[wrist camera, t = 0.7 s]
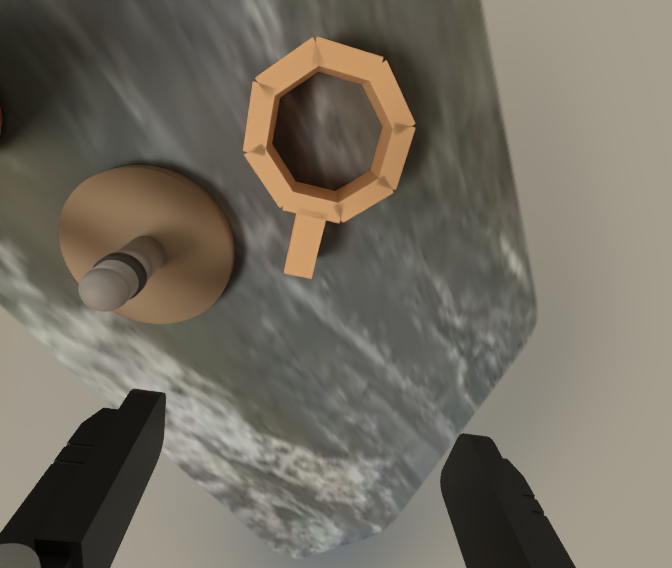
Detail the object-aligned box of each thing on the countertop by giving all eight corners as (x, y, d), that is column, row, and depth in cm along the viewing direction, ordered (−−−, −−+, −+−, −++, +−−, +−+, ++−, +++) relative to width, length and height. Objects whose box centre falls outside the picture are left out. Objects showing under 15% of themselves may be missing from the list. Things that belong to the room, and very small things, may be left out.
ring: (269, 32, 21) (261, 19, 18) (416, 77, 23) (433, 72, 20) (237, 243, 27) (227, 261, 23) (358, 269, 28) (364, 289, 25)
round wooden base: (69, 145, 23) (-46, 162, 16) (245, 187, 25) (217, 221, 18) (74, 298, 28) (-13, 367, 20) (224, 325, 29) (194, 398, 22)
